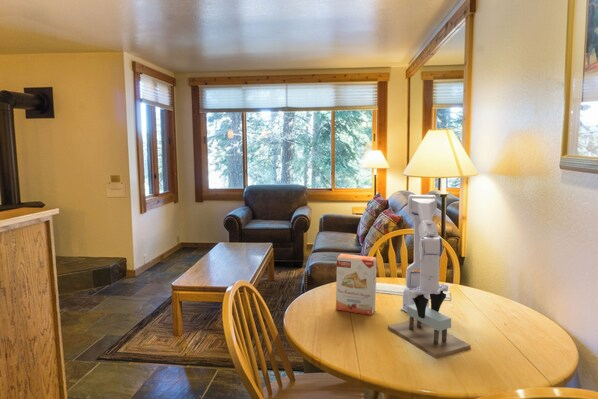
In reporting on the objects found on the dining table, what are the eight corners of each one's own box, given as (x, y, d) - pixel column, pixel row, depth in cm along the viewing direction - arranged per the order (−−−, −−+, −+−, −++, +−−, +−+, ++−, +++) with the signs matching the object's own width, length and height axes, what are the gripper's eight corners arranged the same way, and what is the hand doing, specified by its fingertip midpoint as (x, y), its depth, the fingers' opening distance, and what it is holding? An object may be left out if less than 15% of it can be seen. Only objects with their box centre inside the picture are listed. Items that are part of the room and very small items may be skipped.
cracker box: (335, 310, 151) (336, 256, 149) (339, 305, 157) (340, 252, 154) (372, 316, 146) (373, 260, 143) (375, 310, 151) (376, 256, 149)
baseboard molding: (450, 303, 160) (449, 293, 171) (450, 296, 160) (449, 287, 171) (372, 294, 170) (376, 285, 181) (372, 288, 170) (376, 279, 181)
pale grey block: (407, 314, 133) (407, 305, 133) (418, 311, 135) (418, 303, 135) (438, 331, 121) (439, 321, 120) (451, 327, 123) (451, 318, 122)
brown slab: (387, 328, 136) (388, 314, 135) (419, 321, 142) (420, 307, 141) (436, 358, 116) (436, 341, 115) (470, 348, 122) (471, 332, 121)
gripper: (421, 281, 120) (419, 324, 121) (456, 275, 126) (454, 316, 127) (405, 274, 126) (403, 316, 127) (439, 269, 132) (437, 308, 134)
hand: (427, 315), depth 128 cm, fingers closed on pale grey block, 5 cm apart
